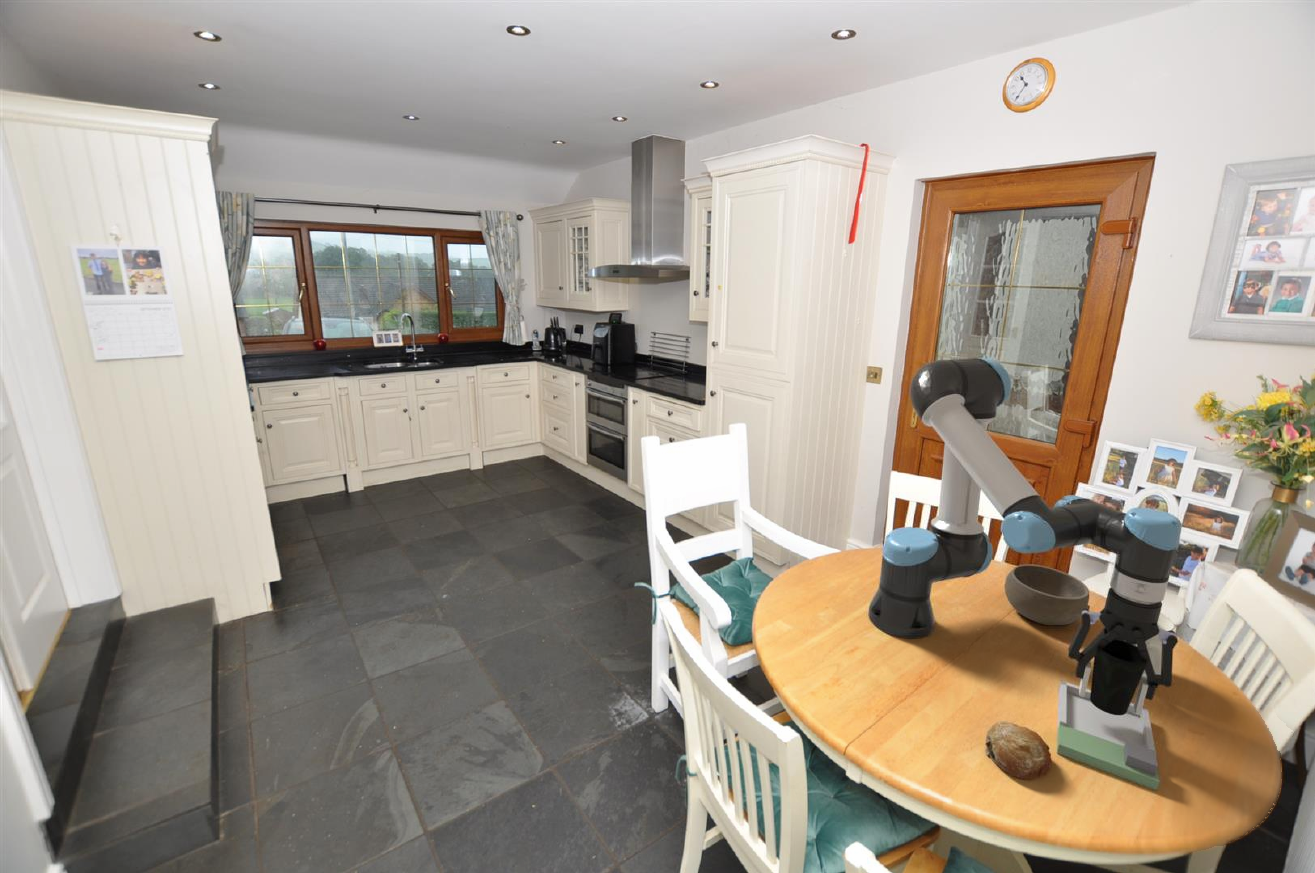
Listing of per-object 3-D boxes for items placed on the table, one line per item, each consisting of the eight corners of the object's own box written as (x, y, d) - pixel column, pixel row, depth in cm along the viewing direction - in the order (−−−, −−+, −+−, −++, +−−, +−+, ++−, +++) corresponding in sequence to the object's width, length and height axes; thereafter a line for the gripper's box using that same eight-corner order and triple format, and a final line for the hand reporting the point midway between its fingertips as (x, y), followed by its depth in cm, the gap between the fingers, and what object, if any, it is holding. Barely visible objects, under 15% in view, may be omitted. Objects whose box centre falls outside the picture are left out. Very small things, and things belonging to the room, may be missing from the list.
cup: (1143, 722, 105) (1158, 666, 102) (1095, 716, 106) (1109, 660, 103) (1119, 693, 112) (1133, 639, 109) (1075, 687, 114) (1087, 635, 110)
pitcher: (1119, 694, 119) (1134, 637, 115) (1085, 642, 136) (1098, 591, 132) (1183, 706, 116) (1201, 647, 112) (1141, 651, 133) (1156, 599, 129)
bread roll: (979, 753, 109) (967, 722, 107) (1029, 730, 109) (1018, 700, 107) (1014, 798, 100) (1002, 766, 98) (1069, 774, 100) (1059, 741, 97)
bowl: (1095, 619, 145) (1103, 583, 142) (1063, 644, 135) (1071, 606, 133) (1021, 589, 159) (1028, 556, 156) (988, 609, 149) (994, 575, 146)
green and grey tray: (1056, 753, 105) (1061, 734, 104) (1058, 690, 120) (1062, 674, 119) (1156, 790, 97) (1162, 771, 96) (1144, 719, 113) (1149, 702, 112)
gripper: (1065, 586, 106) (1043, 691, 112) (1217, 623, 94) (1183, 737, 101) (1066, 569, 112) (1044, 670, 118) (1208, 602, 100) (1177, 711, 107)
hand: (1108, 701), depth 109 cm, fingers closed on cup, 8 cm apart
